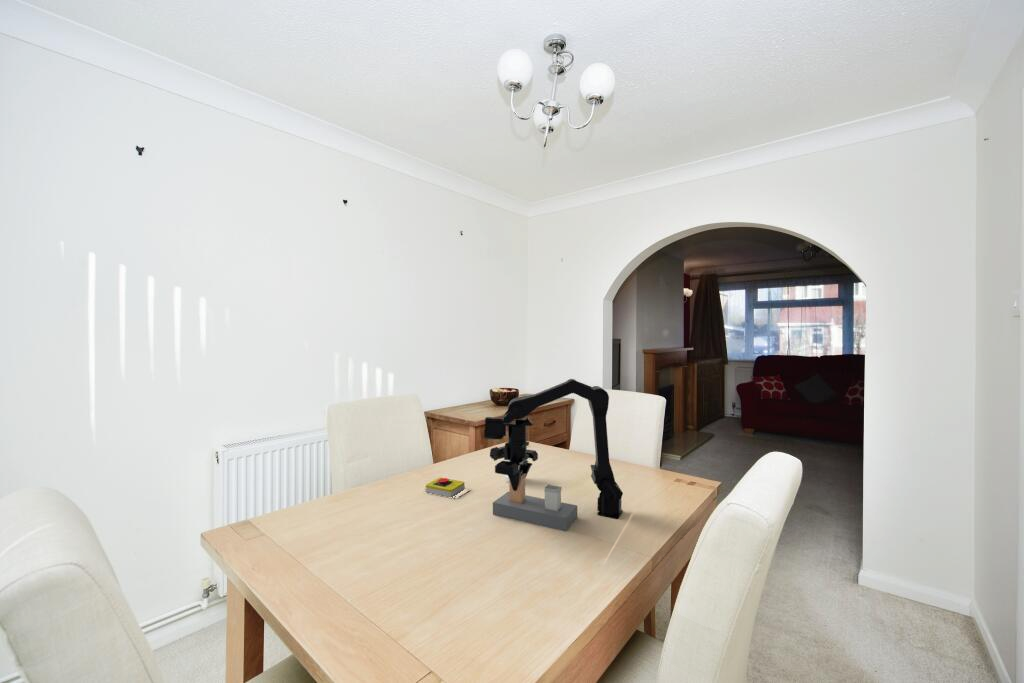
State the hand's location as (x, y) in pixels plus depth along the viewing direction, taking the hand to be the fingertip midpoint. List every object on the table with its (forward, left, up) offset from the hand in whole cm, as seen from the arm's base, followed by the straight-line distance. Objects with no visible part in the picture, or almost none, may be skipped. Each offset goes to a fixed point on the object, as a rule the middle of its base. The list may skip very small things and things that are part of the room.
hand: (517, 488), depth 137 cm
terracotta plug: (0, 0, -5) cm, 5 cm away
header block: (-6, 0, -8) cm, 10 cm away
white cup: (+14, -25, -8) cm, 30 cm away
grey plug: (-12, 0, -8) cm, 14 cm away
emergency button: (+31, -5, -8) cm, 32 cm away
